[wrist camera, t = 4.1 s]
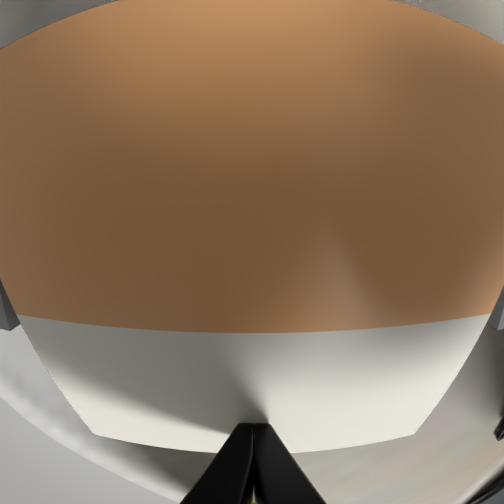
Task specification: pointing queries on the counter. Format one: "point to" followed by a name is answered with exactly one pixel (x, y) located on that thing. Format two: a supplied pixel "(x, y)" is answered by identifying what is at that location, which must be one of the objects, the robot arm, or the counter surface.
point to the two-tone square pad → (252, 214)
